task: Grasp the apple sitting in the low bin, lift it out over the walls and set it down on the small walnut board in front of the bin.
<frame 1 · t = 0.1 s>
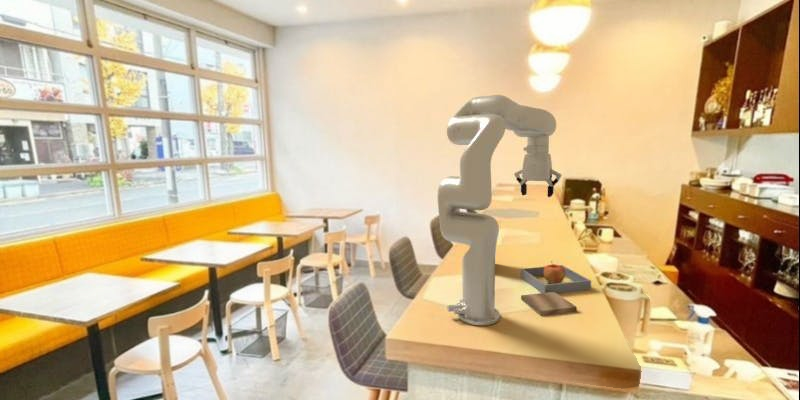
hand: (536, 195, 144), 31 cm above the counter, tool pointing down, fingers open, 9 cm apart
board: (547, 305, 121), on the counter
bin: (553, 283, 139), on the counter
apple: (553, 284, 139), resting in bin
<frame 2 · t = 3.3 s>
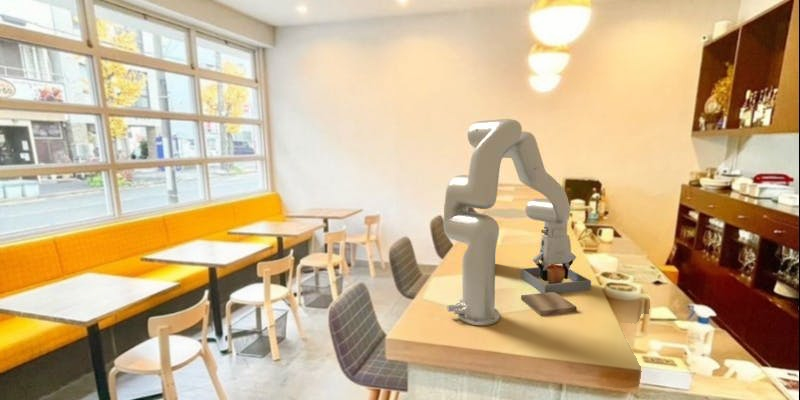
hand: (554, 278, 138), 2 cm above the counter, tool pointing down, fingers closed on apple, 7 cm apart
apple: (553, 284, 139), resting in bin, touching gripper
everything else where it was.
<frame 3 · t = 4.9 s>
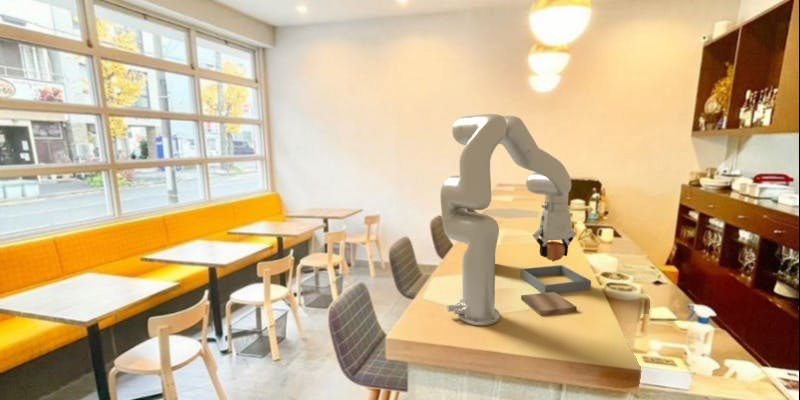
hand: (553, 255, 137), 11 cm above the counter, tool pointing down, fingers closed on apple, 7 cm apart
apple: (553, 261, 137), point 9 cm above the counter, touching gripper
everything else where it was.
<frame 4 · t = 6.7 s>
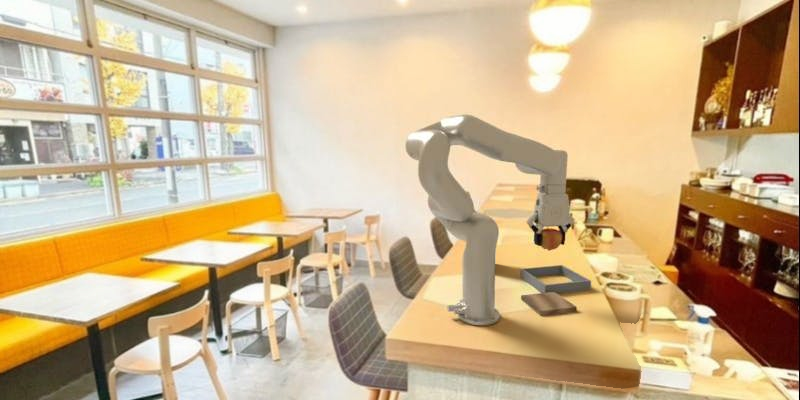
hand: (549, 244, 122), 19 cm above the counter, tool pointing down, fingers closed on apple, 7 cm apart
apple: (548, 250, 122), point 17 cm above the counter, touching gripper
everything else where it was.
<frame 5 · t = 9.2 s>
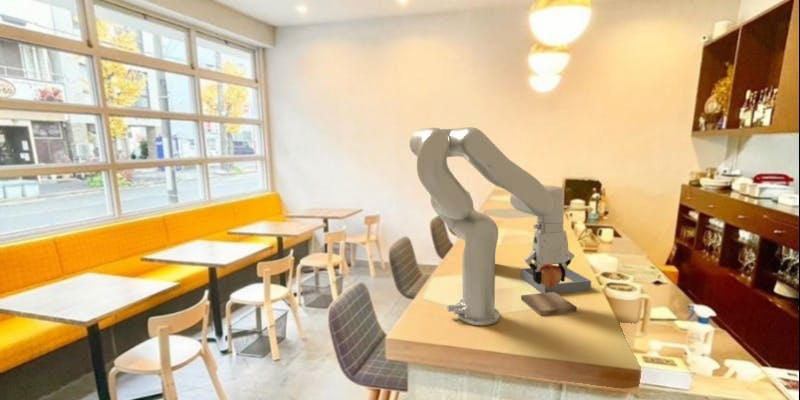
hand: (549, 281, 120), 8 cm above the counter, tool pointing down, fingers closed on apple, 7 cm apart
apple: (548, 287, 120), point 6 cm above the counter, touching gripper
everything else where it was.
when the fingers open (5 cm above the counter, at t = 10.5 s): apple drops 1 cm, resting on board.
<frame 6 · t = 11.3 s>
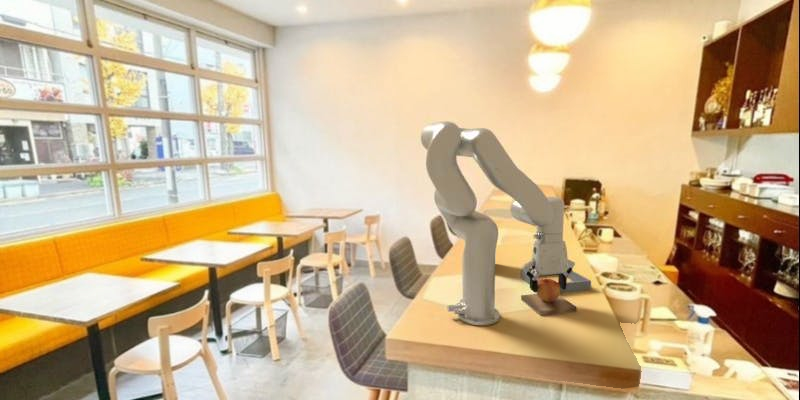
hand: (547, 289, 120), 5 cm above the counter, tool pointing down, fingers open, 9 cm apart
apple: (547, 301, 121), point 1 cm above the counter, touching board
everything else where it was.
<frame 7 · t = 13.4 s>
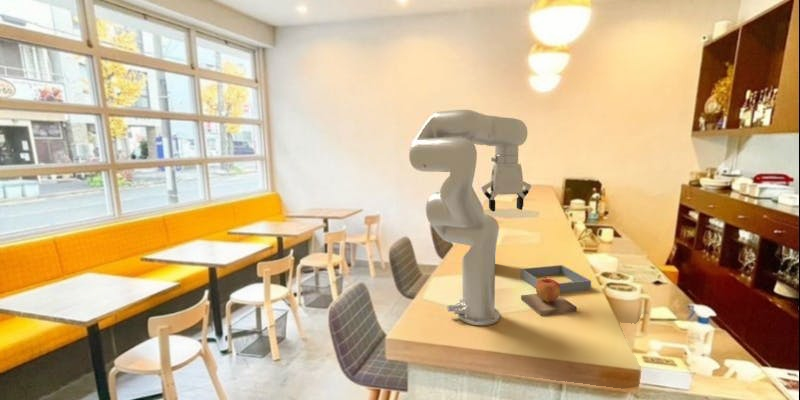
hand: (506, 210, 131), 29 cm above the counter, tool pointing down, fingers open, 9 cm apart
nothing on the counter moved.
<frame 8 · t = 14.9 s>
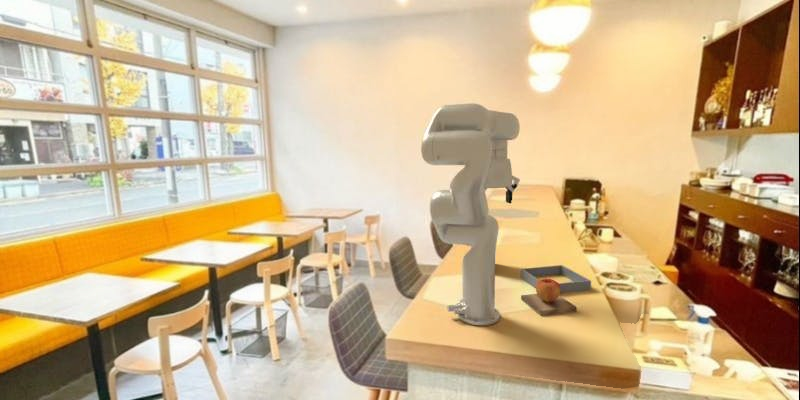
hand: (495, 203, 134), 30 cm above the counter, tool pointing down, fingers open, 9 cm apart
nothing on the counter moved.
at the end: apple inside the target area on the board (0.1 cm from its centre), point 1.3 cm above the board's base; apple touching board; the gripper is holding nothing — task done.
